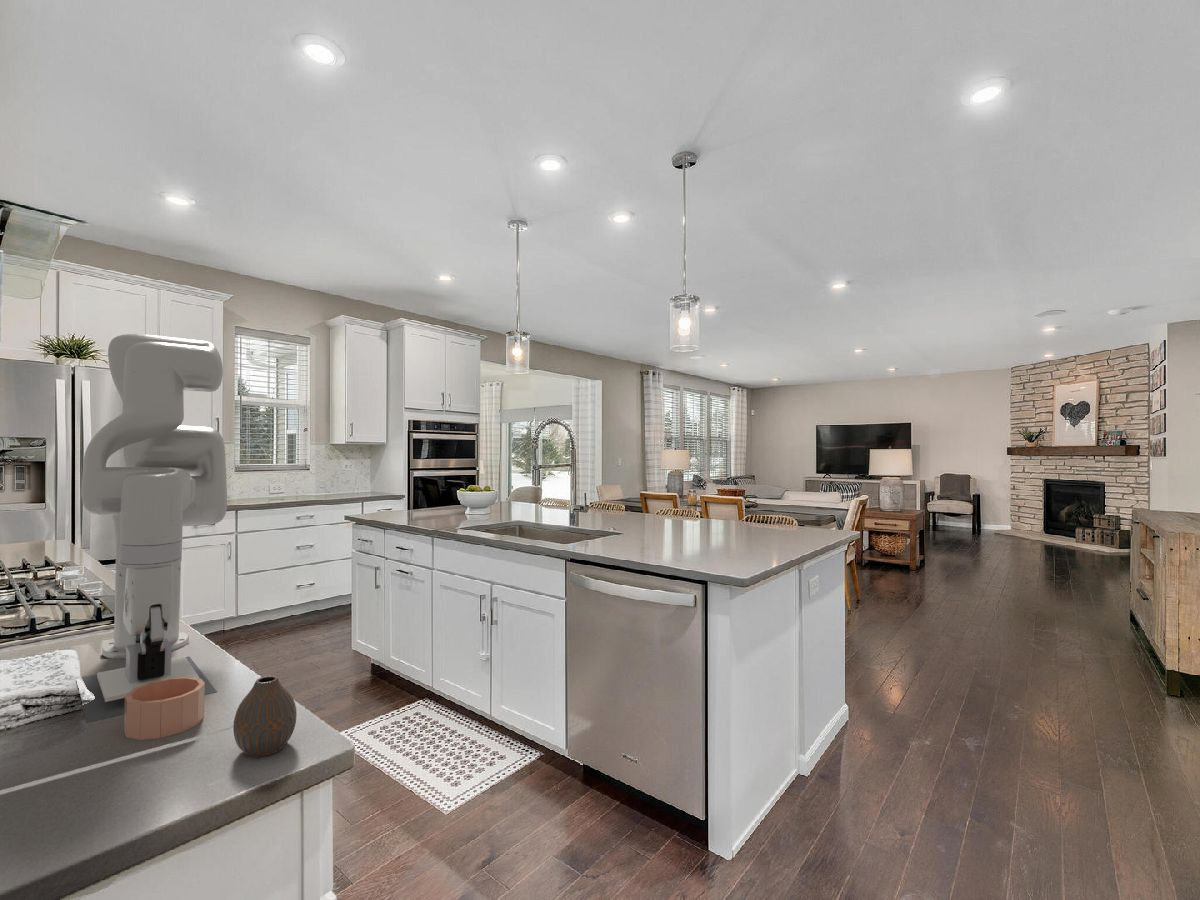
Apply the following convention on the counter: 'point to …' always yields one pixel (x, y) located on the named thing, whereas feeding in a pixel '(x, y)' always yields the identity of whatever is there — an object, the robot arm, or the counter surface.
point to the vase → (265, 718)
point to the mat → (116, 707)
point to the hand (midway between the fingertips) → (148, 671)
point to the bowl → (163, 707)
